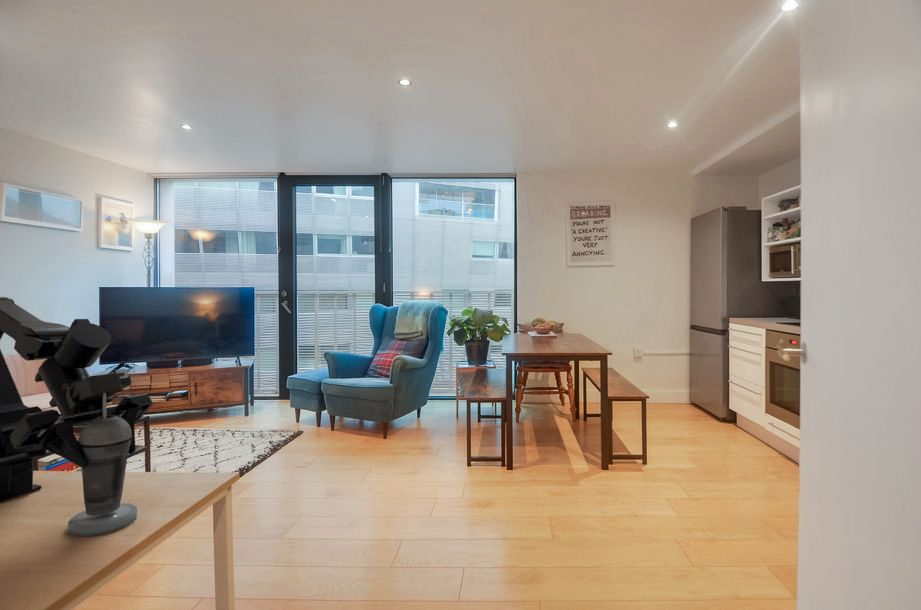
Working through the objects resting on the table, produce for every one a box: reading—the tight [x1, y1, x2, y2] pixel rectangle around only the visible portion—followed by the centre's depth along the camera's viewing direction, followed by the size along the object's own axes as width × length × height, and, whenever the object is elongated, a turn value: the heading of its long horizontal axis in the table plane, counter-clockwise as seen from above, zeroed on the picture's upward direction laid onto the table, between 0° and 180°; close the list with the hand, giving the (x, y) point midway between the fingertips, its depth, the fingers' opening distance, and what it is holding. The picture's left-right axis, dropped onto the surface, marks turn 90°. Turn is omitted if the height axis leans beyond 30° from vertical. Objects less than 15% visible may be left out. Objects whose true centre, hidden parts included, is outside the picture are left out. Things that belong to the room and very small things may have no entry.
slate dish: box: [67, 502, 138, 538], centre depth 75 cm, size 9×9×1 cm
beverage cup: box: [77, 393, 133, 516], centre depth 75 cm, size 7×7×20 cm
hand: (110, 459), depth 74 cm, fingers closed on beverage cup, 7 cm apart
